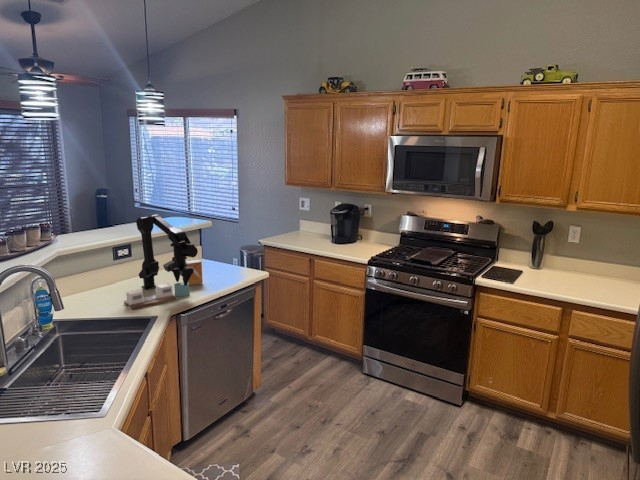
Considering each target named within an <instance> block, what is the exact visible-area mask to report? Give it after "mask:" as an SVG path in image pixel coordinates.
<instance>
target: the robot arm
mask: <svg viewBox="0 0 640 480" xmlns="http://www.w3.org/2000/svg"><path fill="white" fill-rule="evenodd" d="M135 223H136V228H137V230H138V232H139V233H140V235H141V241H142V242H141V243H142V250H143V262H142V265H141V270H140V272H139V273H138V277H139V279H143V281H142V282H143V285H141V288H142V289H144V290H150V289H156V285H157V284H156V283H155V276H158V274H159V272H160V271H159V270H160V266H159V264H160V262H159V261H157V260H156V259H155V257H154V256H155V255H154V254H155V253H154V247H153V239H152V232H153V229H154V225H155V226H156V227H157V228H159V229H160V230H161V231H162V232H164V233H165V234H166V235H167V237H168V239H169V241H170V242H171V244H170V245H169V246H170V247H172V248H173V249H172V250H173V256H172V258H171V260H170V261H167V262H166V263H164V264H163V265H162V267H163V269H164V270H165V271H166V272H168V273H170V272H172V274H173V276H174V278H175V281H176V283H180V277H182V280H183V281H182V282H184V286H186V285H187V283H188V281H189V279H190V277H191V275H192V274H193V273H194V269H193V268H191V267H187V264H186V261H187V259H188V258H195V257H197V255H198V252H199V251H198V248H197V247H196V246H195V243H192V242H191V241H190V239H189V237H188V236H187V234H186V232H185V231H184V230H183V229H180V228H177V227H174V226H173V225H172V224H170V222H167V221H166V219H164V218H162V217H161V215H160V214H151V215H150V216H149V215H148V216H144V217H143V216H142V217H137V219H136V221H135Z"/></svg>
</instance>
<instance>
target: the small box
mask: <svg viewBox="0 0 640 480" xmlns="http://www.w3.org/2000/svg"><path fill="white" fill-rule="evenodd" d="M186 264H187V267H191V268H193V269H194V273H193V274H192V275H191V277H190V279H189V281H188V283H189V286H194V285H203V265H202V264H203V263H202V261H201V260H199V259H194V260H193V259H192V260H186Z"/></svg>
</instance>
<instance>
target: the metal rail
mask: <svg viewBox="0 0 640 480" xmlns="http://www.w3.org/2000/svg"><path fill="white" fill-rule="evenodd" d="M152 295H153V294H152ZM148 296H149V295H148ZM170 296H175V294H173V295H170ZM170 296H166V297H170ZM143 297H144V296H143ZM166 297H160V296H158V295H153V296H149V297H144V302H148V301H153V300H157V299H161V298H166ZM125 301H126V300H125ZM144 302H140V303H144ZM126 303H127V304H129V305H130V306H131V305H136V304H140V303H136V304H130V303H129V302H127V301H126Z"/></svg>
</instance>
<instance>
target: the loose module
mask: <svg viewBox="0 0 640 480" xmlns="http://www.w3.org/2000/svg"><path fill="white" fill-rule="evenodd" d="M173 287H174V288H173V289H174V296H175V297H179V298H180V297H185V296H189V295H190V294H191V293H190V292H191V291H190V285H189V283H187V285H186V286H184V282H183V281H182V282H176V283H174V284H173Z"/></svg>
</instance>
